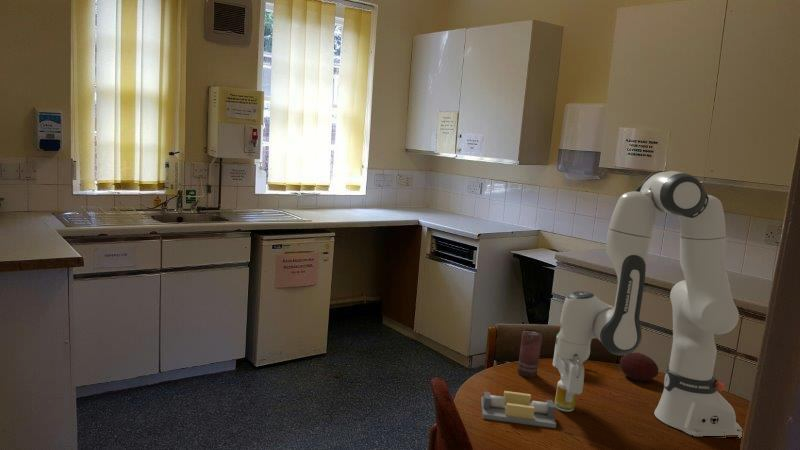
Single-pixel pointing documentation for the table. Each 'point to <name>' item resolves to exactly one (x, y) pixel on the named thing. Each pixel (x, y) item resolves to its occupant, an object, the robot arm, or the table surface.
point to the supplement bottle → (563, 398)
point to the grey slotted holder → (518, 409)
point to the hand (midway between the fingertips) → (565, 395)
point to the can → (529, 353)
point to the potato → (638, 366)
